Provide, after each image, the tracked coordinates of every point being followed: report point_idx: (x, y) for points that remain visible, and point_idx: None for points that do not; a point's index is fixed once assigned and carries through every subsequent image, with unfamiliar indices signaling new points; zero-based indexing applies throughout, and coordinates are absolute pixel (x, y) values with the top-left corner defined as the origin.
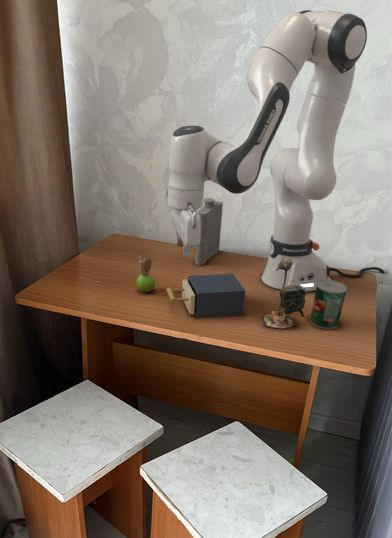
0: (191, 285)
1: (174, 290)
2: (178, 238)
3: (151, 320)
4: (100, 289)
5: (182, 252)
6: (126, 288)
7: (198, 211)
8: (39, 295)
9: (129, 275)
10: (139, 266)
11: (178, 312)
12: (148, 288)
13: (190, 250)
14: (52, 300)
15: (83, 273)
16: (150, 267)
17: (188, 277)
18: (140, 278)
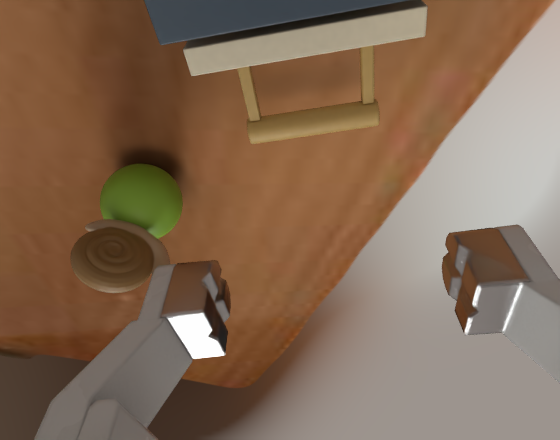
0: None
1: (258, 105)
2: (179, 362)
3: (391, 160)
4: None
5: (453, 296)
6: None
7: None
8: (235, 372)
9: (37, 230)
10: None
11: (336, 54)
12: (178, 188)
13: (555, 275)
14: (257, 355)
15: (84, 325)
16: (102, 232)
17: (174, 41)
18: (158, 237)
